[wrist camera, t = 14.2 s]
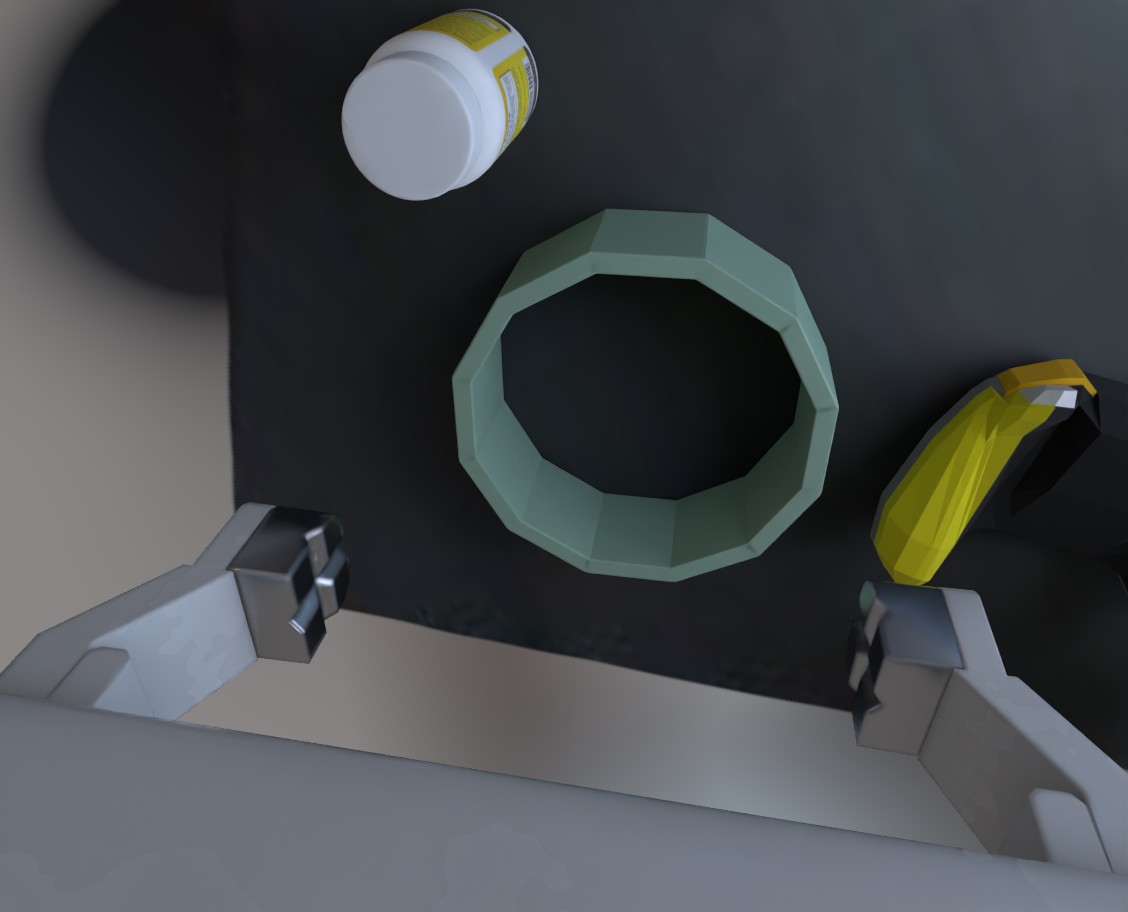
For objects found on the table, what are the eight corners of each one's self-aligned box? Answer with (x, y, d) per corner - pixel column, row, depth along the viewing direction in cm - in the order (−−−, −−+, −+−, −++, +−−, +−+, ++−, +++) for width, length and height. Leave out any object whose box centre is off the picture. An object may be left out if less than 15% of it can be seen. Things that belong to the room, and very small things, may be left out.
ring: (475, 201, 34) (439, 243, 30) (851, 220, 32) (868, 267, 28) (493, 495, 42) (466, 560, 38) (793, 524, 40) (800, 596, 36)
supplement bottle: (390, 66, 31) (293, 113, 25) (481, -24, 29) (403, 0, 22) (474, 171, 33) (406, 243, 26) (566, 93, 31) (518, 149, 24)
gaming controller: (1159, 601, 39) (1320, 425, 33) (1216, 694, 34) (1414, 509, 28) (846, 509, 39) (953, 318, 33) (861, 589, 34) (988, 384, 29)
